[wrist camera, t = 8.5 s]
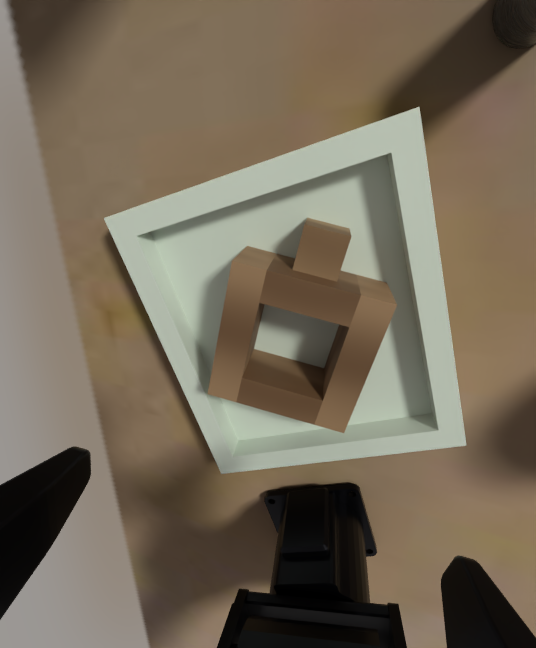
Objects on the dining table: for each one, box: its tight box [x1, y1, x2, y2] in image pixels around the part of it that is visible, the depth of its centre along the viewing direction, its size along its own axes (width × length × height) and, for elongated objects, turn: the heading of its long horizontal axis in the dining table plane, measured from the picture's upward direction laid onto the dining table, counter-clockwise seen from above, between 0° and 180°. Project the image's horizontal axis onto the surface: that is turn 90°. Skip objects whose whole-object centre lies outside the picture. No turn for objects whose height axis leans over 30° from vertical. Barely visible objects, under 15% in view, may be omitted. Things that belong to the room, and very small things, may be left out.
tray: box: [104, 107, 466, 474], centre depth 19 cm, size 16×14×2 cm
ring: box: [208, 218, 397, 433], centre depth 17 cm, size 9×7×3 cm
